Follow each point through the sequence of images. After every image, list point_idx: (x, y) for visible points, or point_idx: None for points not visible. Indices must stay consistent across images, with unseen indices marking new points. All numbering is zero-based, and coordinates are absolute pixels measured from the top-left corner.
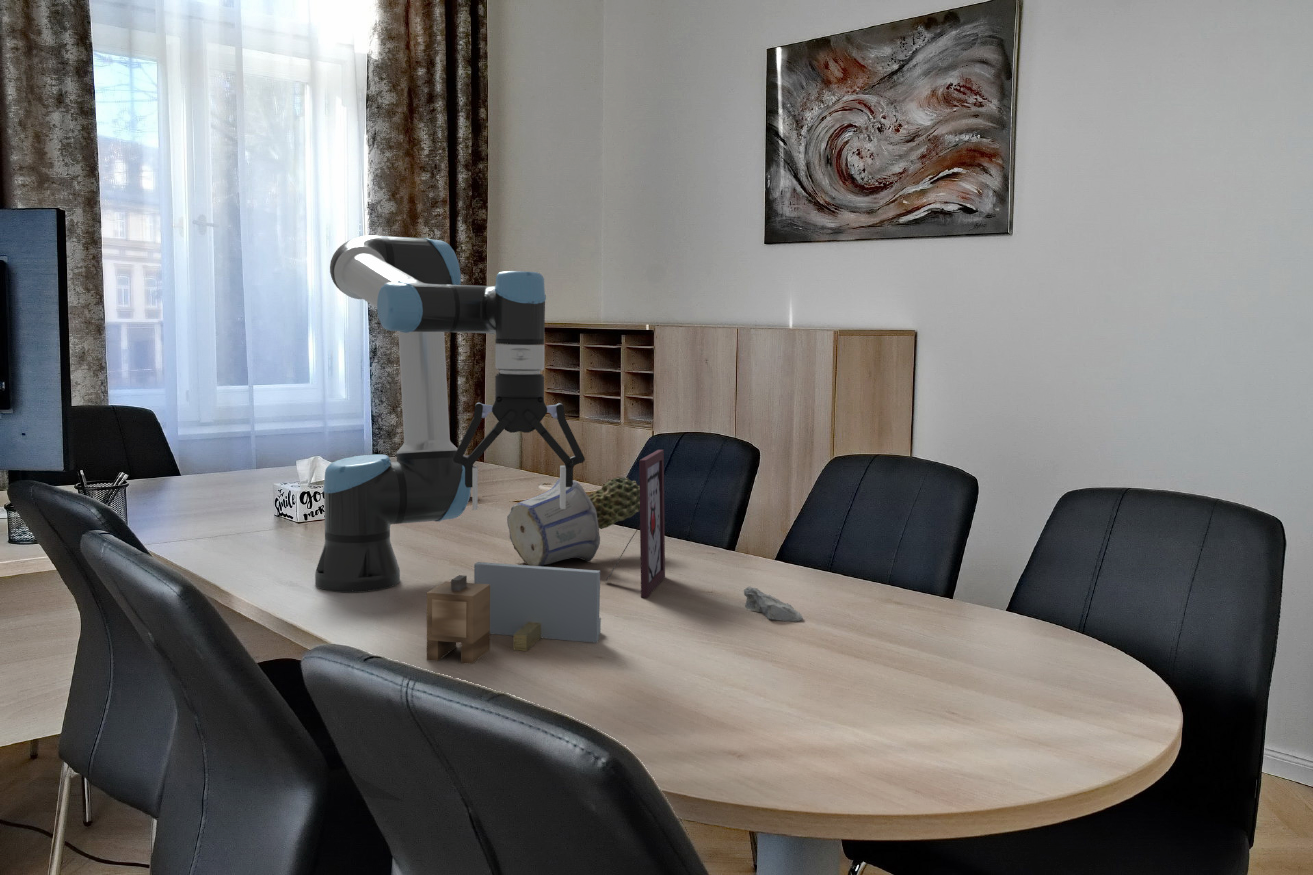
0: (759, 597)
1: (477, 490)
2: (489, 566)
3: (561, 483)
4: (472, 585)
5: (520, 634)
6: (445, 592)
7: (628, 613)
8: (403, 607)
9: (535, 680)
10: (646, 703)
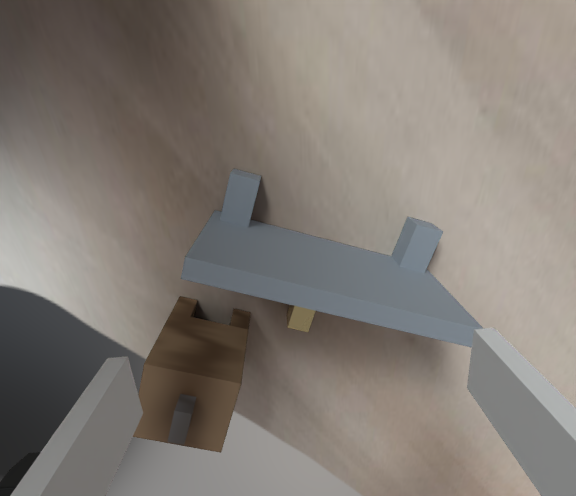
0: None
1: (104, 458)
2: (221, 286)
3: (537, 487)
4: (206, 391)
5: (298, 326)
6: (166, 435)
7: (512, 87)
8: (17, 38)
9: (320, 417)
10: (438, 471)
